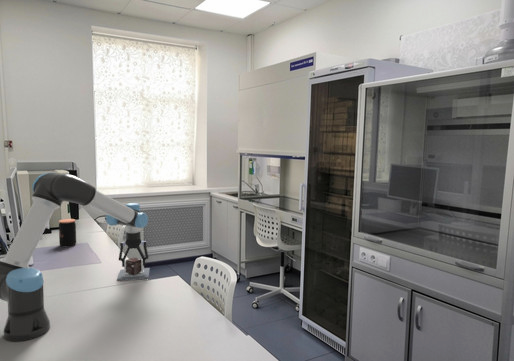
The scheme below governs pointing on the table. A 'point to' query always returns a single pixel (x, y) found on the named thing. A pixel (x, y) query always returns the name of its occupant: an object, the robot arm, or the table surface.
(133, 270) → the box
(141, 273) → the mat
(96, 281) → the table surface
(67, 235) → the coffee jar
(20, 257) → the robot arm
